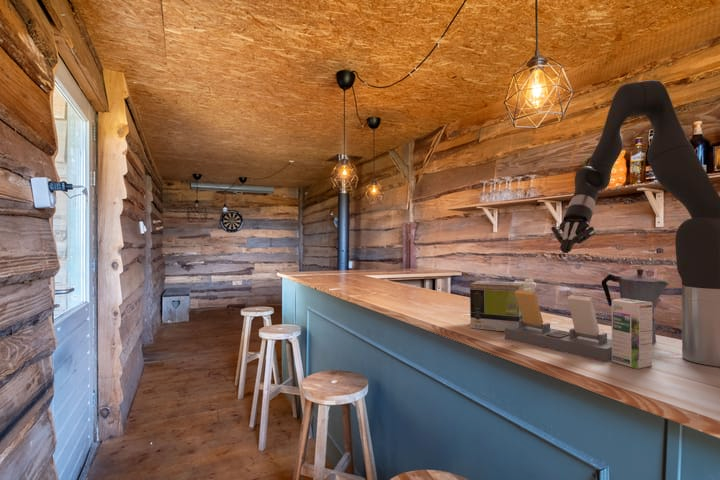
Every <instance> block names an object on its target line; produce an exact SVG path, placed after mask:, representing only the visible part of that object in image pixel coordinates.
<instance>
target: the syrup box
mask: <svg viewBox="0 0 720 480" xmlns="http://www.w3.org/2000/svg"><path fill="white" fill-rule="evenodd" d="M611 300H612V306H611V340H612V360H611V362H612V363H616V364H620V365H623V366H625V367H628V368H632V369H635V370H639V369H643V368H647V367H653V344H652V302H645V301H638V300H631V299H621V298H615V299H611Z"/></svg>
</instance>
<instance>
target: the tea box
mask: <svg viewBox="0 0 720 480" xmlns="http://www.w3.org/2000/svg"><path fill="white" fill-rule="evenodd" d="M519 282H520V281H485V280H476V281H474V282H471V283H469V304H470V305H469V306H470V307H469V308H470V309H469V310H470V311H469V312H470V315H469V316H470V317H469V318H470V328H471V329H477V330H487V331H497V332H505V328H508V327H512V326H516V325H519V320H522V316H521V312H520V309H519V306H518V302H517V299H516V296H515V292H516V291H517V290H523V291H524V288H525V287H524V284H523V283H519Z"/></svg>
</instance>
